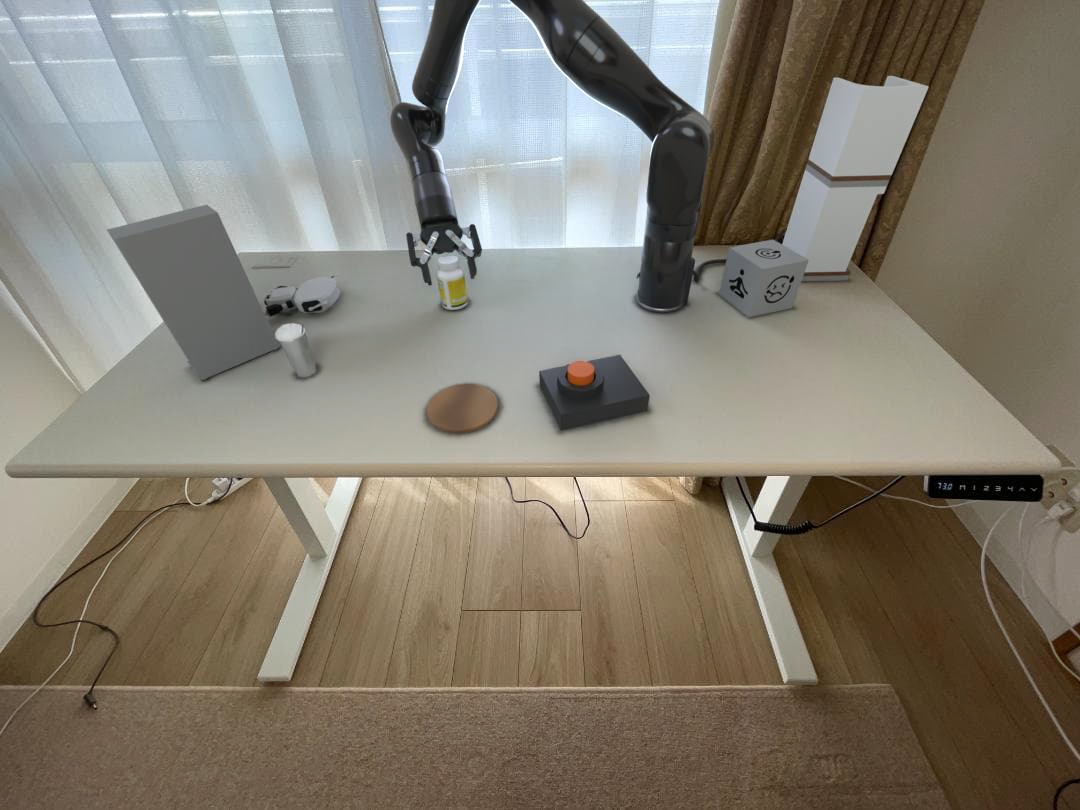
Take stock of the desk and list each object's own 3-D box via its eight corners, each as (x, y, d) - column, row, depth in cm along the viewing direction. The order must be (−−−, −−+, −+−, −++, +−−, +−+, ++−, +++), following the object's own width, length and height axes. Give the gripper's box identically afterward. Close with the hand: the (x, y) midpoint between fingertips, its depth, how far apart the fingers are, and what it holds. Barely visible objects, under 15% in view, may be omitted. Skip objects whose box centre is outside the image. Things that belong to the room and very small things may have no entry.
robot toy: (262, 330, 97) (337, 318, 98) (251, 310, 94) (328, 298, 95) (279, 299, 107) (347, 289, 107) (269, 280, 104) (339, 270, 104)
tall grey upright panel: (268, 335, 94) (205, 203, 78) (281, 348, 91) (218, 212, 74) (190, 367, 87) (104, 228, 71) (201, 381, 84) (113, 239, 67)
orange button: (588, 367, 76) (588, 358, 75) (597, 383, 73) (598, 373, 72) (563, 372, 75) (564, 363, 74) (572, 388, 72) (572, 379, 71)
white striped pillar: (847, 280, 104) (928, 86, 81) (796, 281, 104) (863, 88, 81) (824, 257, 113) (892, 75, 90) (777, 258, 113) (833, 77, 90)
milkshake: (315, 381, 83) (294, 331, 76) (287, 378, 84) (264, 328, 77) (329, 365, 86) (310, 316, 80) (302, 362, 87) (281, 313, 80)
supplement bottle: (472, 299, 103) (466, 255, 96) (461, 312, 99) (454, 267, 92) (449, 296, 104) (441, 252, 98) (437, 308, 100) (428, 263, 94)
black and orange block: (618, 369, 83) (621, 345, 80) (647, 410, 75) (651, 385, 72) (539, 386, 80) (538, 361, 77) (560, 430, 72) (560, 405, 69)
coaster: (489, 381, 82) (489, 378, 81) (505, 424, 74) (504, 421, 73) (423, 394, 80) (423, 391, 79) (432, 440, 72) (431, 437, 71)
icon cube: (759, 285, 104) (773, 239, 97) (791, 308, 96) (808, 260, 90) (718, 293, 101) (729, 247, 95) (748, 317, 94) (762, 269, 88)
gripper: (396, 198, 93) (414, 280, 92) (470, 189, 96) (488, 268, 95) (400, 216, 100) (416, 292, 99) (469, 207, 103) (485, 281, 102)
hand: (451, 280), depth 97 cm, fingers open, 8 cm apart
